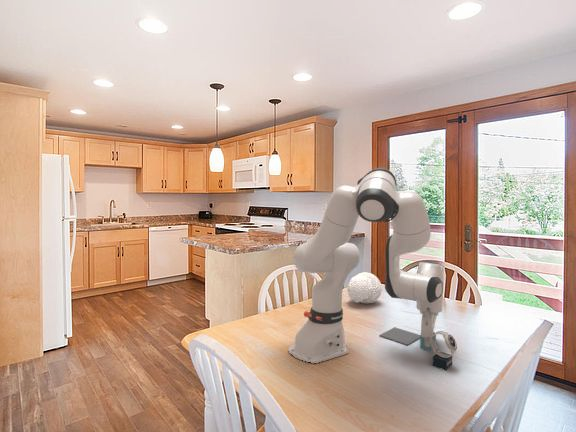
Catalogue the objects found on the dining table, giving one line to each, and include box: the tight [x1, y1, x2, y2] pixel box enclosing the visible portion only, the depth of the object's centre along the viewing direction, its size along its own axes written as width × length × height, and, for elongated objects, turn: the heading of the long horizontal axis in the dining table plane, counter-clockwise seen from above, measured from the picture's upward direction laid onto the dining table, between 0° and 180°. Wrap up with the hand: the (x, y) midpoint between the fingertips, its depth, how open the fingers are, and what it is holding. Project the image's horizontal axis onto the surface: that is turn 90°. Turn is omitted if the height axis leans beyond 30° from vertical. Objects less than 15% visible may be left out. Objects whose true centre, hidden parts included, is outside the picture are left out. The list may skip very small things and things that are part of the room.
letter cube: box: [419, 331, 437, 351], centre depth 125 cm, size 5×5×5 cm
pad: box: [378, 327, 421, 347], centre depth 134 cm, size 12×12×1 cm
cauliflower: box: [346, 271, 383, 304], centre depth 174 cm, size 20×18×16 cm
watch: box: [430, 330, 458, 371], centre depth 111 cm, size 6×8×11 cm
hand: (428, 341), depth 124 cm, fingers open, 8 cm apart
